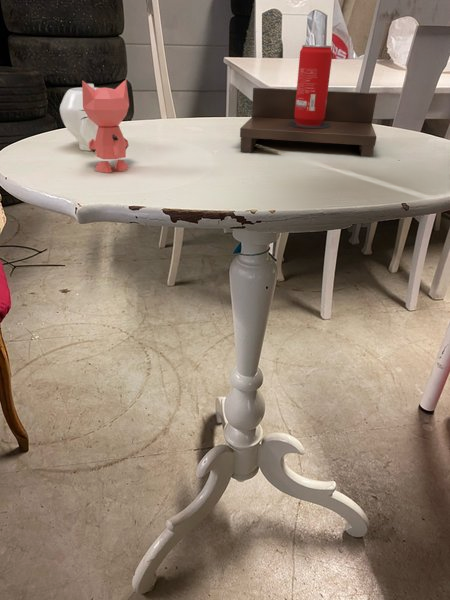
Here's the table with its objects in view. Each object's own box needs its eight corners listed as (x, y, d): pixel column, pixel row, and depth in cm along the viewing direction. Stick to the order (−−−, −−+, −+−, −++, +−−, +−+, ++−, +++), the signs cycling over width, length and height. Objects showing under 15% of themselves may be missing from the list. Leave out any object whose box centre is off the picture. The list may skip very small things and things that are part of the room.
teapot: (61, 162, 71) (51, 97, 67) (68, 137, 88) (60, 83, 83) (125, 160, 73) (119, 96, 69) (120, 135, 90) (115, 83, 85)
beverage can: (288, 122, 83) (295, 44, 77) (314, 121, 84) (322, 45, 78) (302, 127, 78) (310, 45, 72) (329, 126, 80) (339, 46, 74)
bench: (367, 145, 87) (376, 92, 83) (372, 161, 76) (382, 102, 72) (251, 138, 91) (253, 87, 86) (239, 152, 80) (241, 95, 75)
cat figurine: (129, 162, 73) (122, 76, 67) (144, 172, 67) (138, 81, 61) (83, 166, 70) (71, 77, 64) (95, 178, 64) (84, 82, 58)
